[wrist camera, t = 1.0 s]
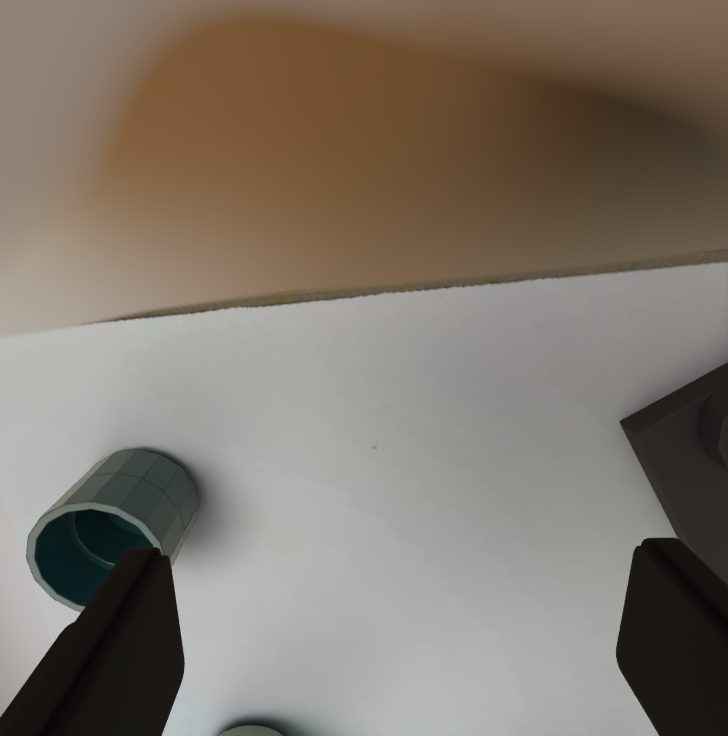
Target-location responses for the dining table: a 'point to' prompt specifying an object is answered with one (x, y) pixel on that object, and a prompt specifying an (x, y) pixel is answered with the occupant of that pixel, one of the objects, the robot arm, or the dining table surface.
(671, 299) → the dining table surface
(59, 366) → the dining table surface
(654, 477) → the scale
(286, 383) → the dining table surface
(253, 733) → the cup
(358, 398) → the dining table surface
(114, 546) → the teal hollow faceted cylinder
